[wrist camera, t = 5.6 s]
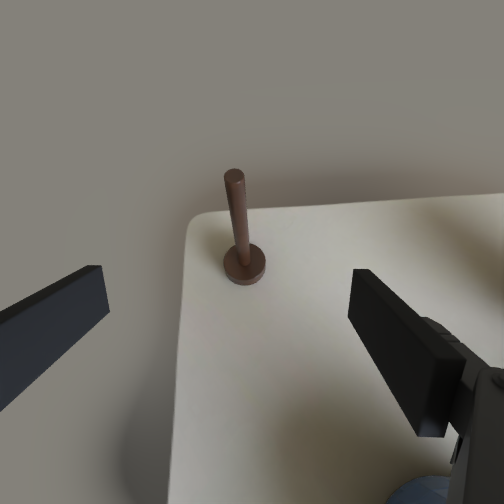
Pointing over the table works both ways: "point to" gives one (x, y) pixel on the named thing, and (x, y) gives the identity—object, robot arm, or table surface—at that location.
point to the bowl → (422, 491)
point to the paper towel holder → (241, 235)
